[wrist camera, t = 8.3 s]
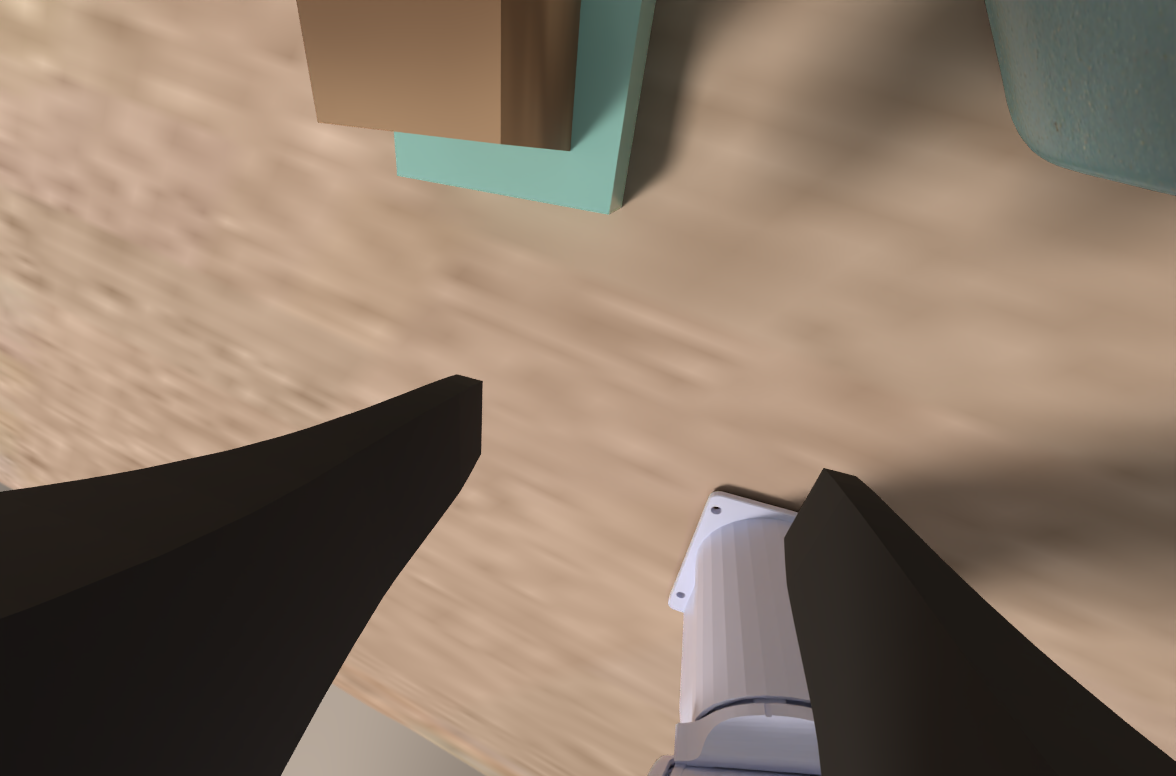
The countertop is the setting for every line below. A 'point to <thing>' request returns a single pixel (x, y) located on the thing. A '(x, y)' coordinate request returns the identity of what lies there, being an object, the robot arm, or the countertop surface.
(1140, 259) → the countertop surface
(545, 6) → the walnut block
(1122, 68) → the flower pot
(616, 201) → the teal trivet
